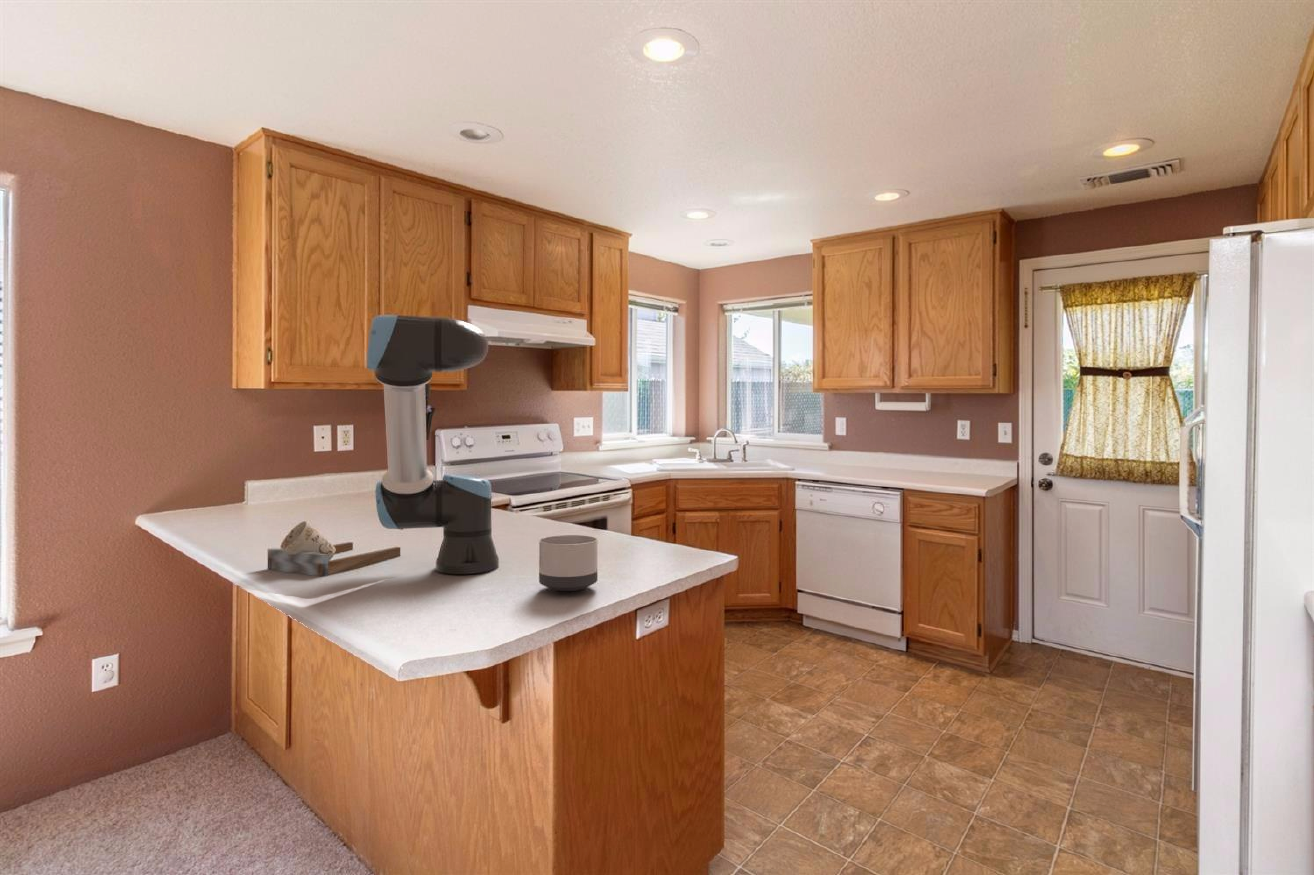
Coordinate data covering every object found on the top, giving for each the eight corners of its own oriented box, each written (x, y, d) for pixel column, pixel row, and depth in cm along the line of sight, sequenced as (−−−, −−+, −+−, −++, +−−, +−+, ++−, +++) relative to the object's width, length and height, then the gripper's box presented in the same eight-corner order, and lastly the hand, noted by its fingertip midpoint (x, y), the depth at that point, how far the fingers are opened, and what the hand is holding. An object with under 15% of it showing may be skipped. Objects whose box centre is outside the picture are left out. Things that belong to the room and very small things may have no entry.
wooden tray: (400, 558, 177) (400, 539, 177) (322, 576, 155) (322, 555, 155) (348, 552, 185) (348, 534, 185) (267, 569, 163) (267, 548, 163)
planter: (545, 579, 153) (545, 534, 153) (600, 580, 153) (600, 535, 153) (533, 593, 140) (533, 544, 140) (593, 594, 140) (593, 544, 140)
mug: (329, 567, 161) (294, 543, 156) (298, 580, 166) (264, 558, 161) (344, 540, 167) (311, 516, 162) (314, 553, 172) (282, 531, 167)
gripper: (422, 384, 194) (422, 464, 195) (388, 381, 182) (388, 466, 183) (442, 383, 191) (442, 464, 192) (409, 380, 179) (409, 467, 180)
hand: (416, 465), depth 187 cm, fingers closed
